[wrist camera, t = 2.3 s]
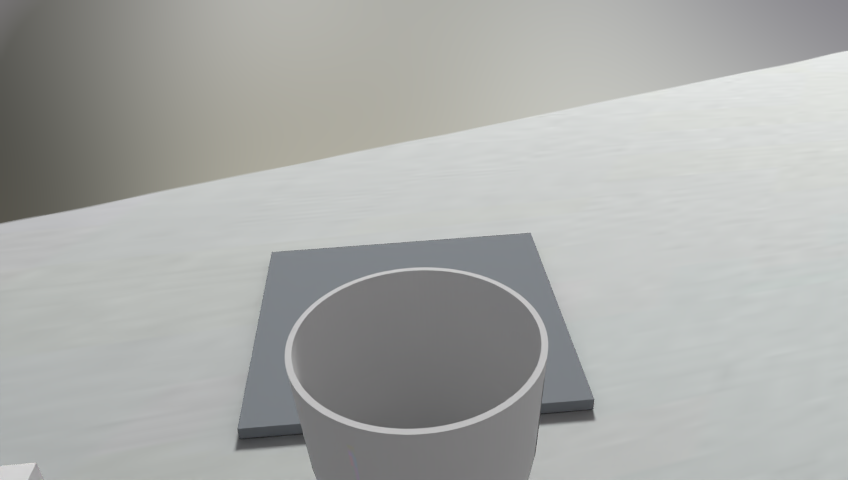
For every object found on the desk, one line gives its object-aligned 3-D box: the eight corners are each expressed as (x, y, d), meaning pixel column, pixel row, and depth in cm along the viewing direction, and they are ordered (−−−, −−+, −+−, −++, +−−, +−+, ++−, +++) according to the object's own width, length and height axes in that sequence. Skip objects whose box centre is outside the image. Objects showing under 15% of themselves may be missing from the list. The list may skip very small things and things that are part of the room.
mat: (239, 438, 34) (237, 428, 34) (273, 260, 47) (271, 252, 46) (593, 409, 34) (594, 399, 34) (530, 241, 47) (530, 232, 47)
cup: (579, 597, 27) (601, 380, 21) (360, 692, 24) (325, 472, 19) (479, 441, 33) (477, 246, 28) (298, 503, 31) (259, 302, 26)
